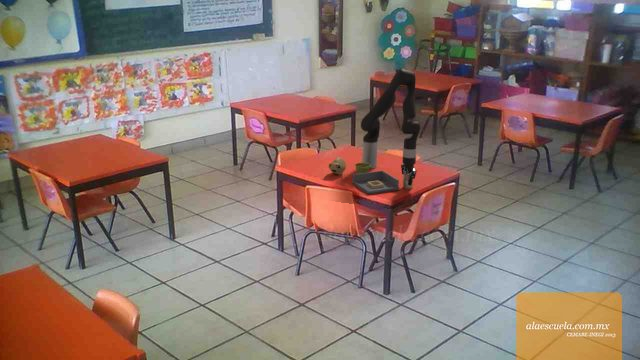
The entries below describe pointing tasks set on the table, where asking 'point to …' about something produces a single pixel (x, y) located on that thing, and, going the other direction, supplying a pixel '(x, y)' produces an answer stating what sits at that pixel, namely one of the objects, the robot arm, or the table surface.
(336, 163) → the toy pig
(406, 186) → the connector
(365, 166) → the plant pot
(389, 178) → the walled box
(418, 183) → the table surface
